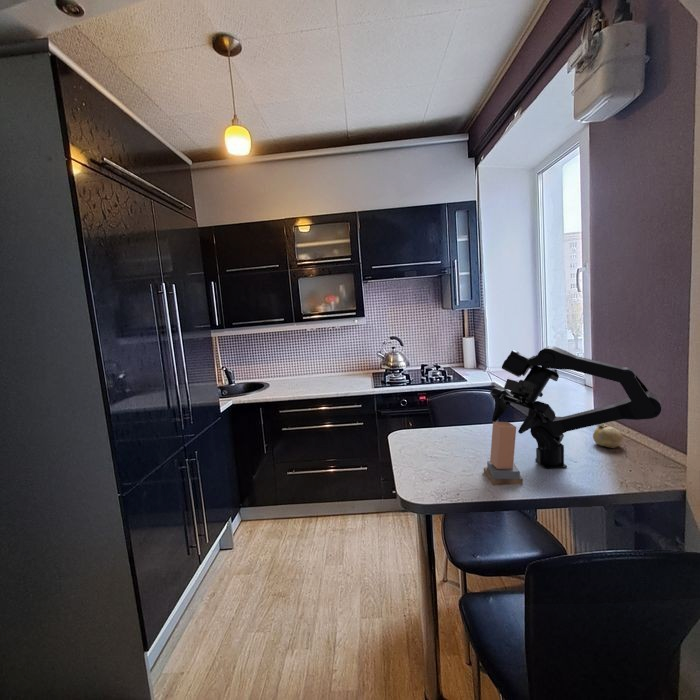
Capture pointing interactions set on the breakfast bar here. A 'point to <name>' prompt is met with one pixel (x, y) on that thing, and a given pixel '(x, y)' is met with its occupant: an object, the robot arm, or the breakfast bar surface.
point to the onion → (607, 436)
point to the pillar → (503, 445)
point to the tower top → (503, 472)
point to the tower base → (502, 481)
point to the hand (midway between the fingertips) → (505, 427)
